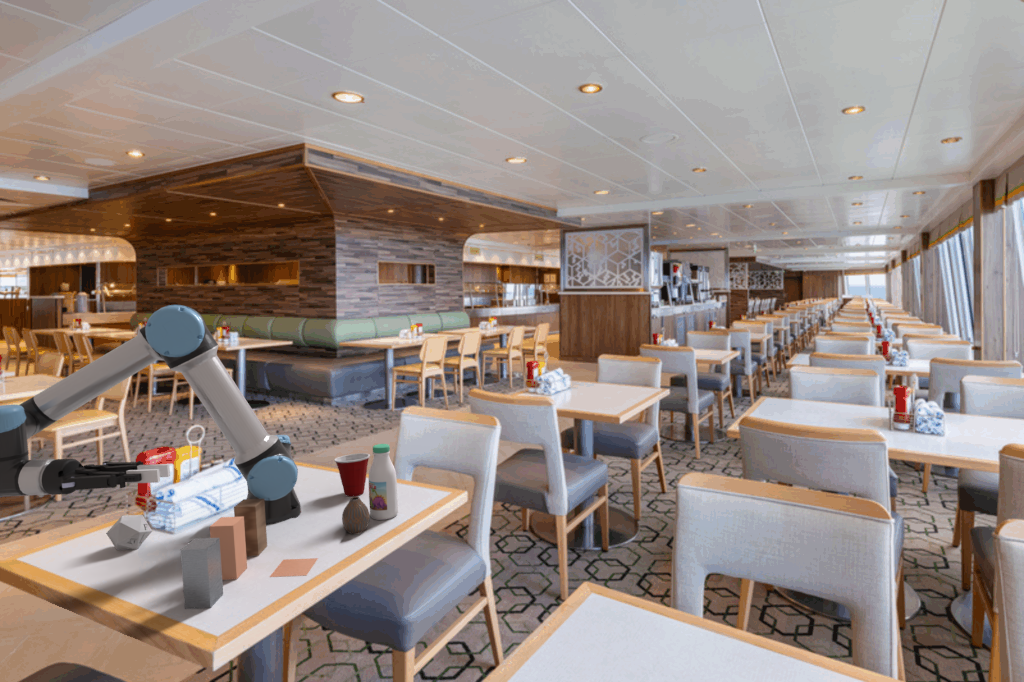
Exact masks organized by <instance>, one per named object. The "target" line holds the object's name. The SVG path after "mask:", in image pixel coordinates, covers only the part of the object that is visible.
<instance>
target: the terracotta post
mask: <svg viewBox="0 0 1024 682" xmlns="http://www.w3.org/2000/svg"><path fill="white" fill-rule="evenodd" d="M209 536H210V537H209V538H219V540H220V554H221V569H222V581H226V580H227V581H228V580H238V578H240V577H241V576H242V575H243V573H245V571H246V570H247V569H248V561H247V560H248V559H247V557H248V556H246V542H245V527H244V516H242V517H234V516H223V517H222V516H221V517H220V518H218V519H217V520H216V521H215V522H213V523H212V524H211V525H209Z"/></svg>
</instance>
